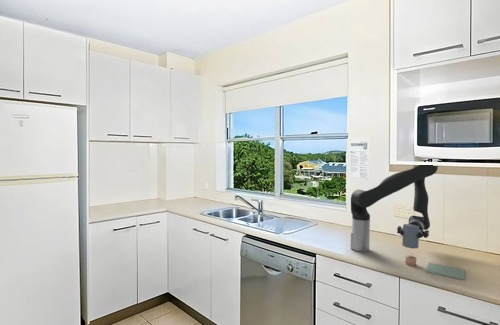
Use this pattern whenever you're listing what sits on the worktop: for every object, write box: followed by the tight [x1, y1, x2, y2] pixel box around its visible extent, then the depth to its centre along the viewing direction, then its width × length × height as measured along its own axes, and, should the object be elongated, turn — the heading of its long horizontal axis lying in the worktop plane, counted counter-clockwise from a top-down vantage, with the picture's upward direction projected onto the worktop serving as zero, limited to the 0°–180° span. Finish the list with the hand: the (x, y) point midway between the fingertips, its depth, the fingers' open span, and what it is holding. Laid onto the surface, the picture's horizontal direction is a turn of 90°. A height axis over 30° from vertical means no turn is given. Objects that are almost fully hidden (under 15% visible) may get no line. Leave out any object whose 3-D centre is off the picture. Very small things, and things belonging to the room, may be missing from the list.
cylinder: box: [404, 255, 417, 267], centre depth 141 cm, size 5×5×4 cm
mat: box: [425, 262, 466, 281], centre depth 132 cm, size 14×13×1 cm
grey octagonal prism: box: [402, 223, 420, 249], centre depth 140 cm, size 6×6×10 cm
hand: (410, 234), depth 138 cm, fingers closed on grey octagonal prism, 6 cm apart
